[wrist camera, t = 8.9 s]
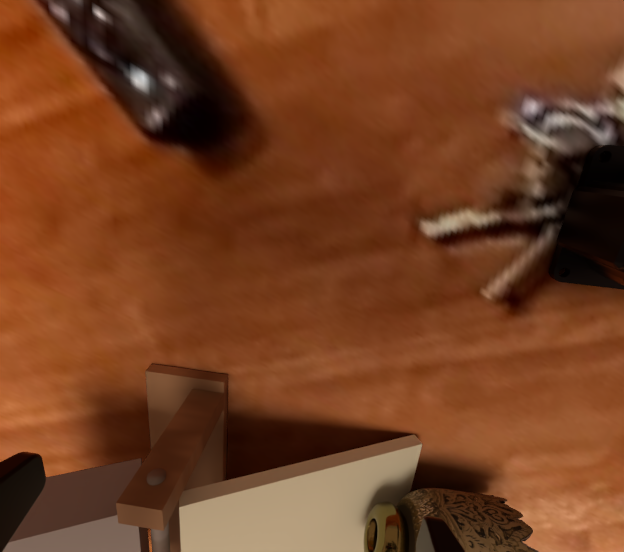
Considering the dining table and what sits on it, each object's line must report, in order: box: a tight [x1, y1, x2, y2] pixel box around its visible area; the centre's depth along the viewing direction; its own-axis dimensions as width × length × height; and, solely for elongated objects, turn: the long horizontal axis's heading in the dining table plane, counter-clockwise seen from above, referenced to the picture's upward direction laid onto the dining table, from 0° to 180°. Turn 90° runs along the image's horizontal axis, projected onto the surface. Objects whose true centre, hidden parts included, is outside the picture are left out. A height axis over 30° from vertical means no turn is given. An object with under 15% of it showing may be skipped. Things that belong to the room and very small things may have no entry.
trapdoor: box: [3, 434, 422, 552], centre depth 21 cm, size 23×13×3 cm, turn 85°
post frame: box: [116, 364, 228, 552], centre depth 21 cm, size 5×18×8 cm, turn 174°
